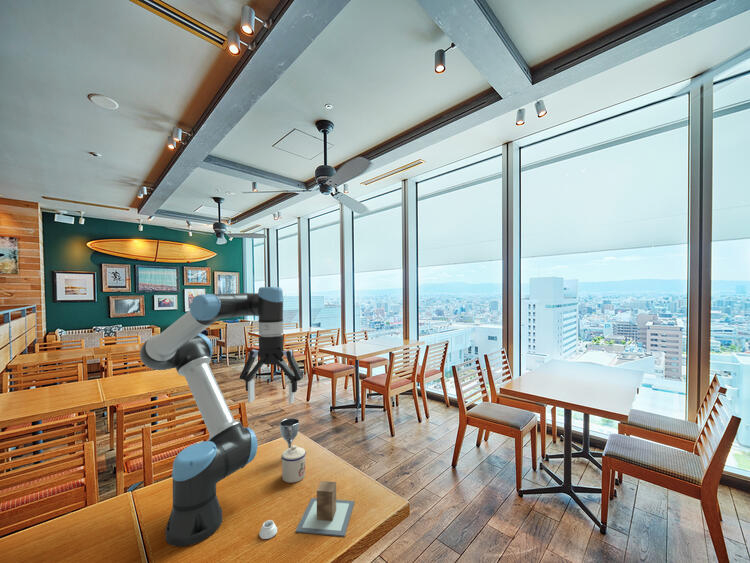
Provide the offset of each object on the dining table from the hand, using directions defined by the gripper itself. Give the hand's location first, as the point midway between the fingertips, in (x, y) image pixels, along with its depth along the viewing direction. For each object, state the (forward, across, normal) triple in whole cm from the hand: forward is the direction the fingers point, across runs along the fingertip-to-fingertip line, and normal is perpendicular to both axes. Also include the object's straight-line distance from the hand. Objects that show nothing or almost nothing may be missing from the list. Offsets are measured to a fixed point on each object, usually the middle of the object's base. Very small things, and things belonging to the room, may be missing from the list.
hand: (271, 401), depth 101 cm
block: (+36, +17, +3) cm, 40 cm away
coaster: (+37, +17, +3) cm, 41 cm away
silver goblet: (+37, -9, +36) cm, 52 cm away
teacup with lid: (+37, -2, +24) cm, 44 cm away
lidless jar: (+37, +2, -6) cm, 38 cm away
